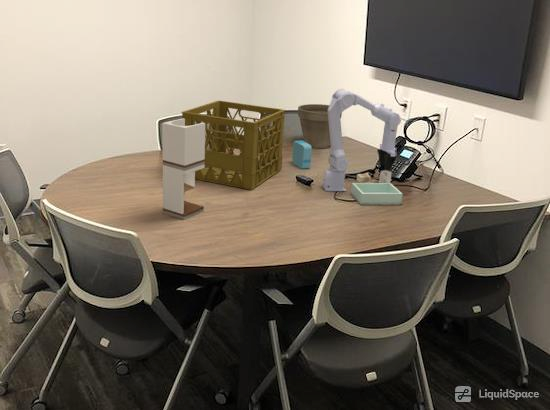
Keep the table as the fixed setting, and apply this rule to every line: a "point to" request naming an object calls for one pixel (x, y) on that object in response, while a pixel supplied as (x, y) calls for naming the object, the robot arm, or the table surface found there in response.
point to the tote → (376, 194)
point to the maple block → (363, 178)
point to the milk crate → (239, 143)
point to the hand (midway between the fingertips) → (385, 167)
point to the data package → (301, 154)
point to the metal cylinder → (385, 177)
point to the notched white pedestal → (181, 165)
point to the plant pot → (315, 124)
